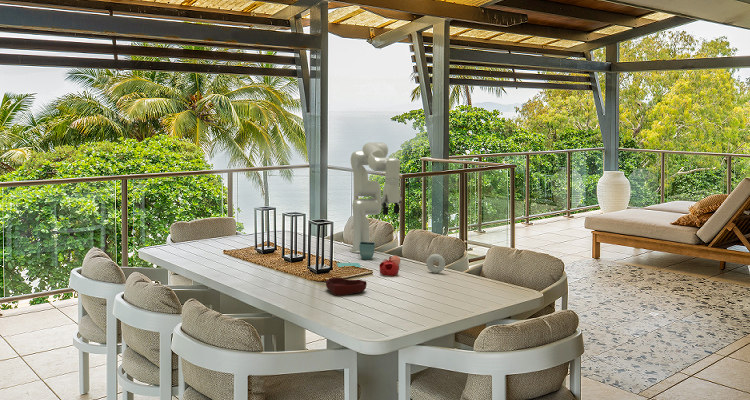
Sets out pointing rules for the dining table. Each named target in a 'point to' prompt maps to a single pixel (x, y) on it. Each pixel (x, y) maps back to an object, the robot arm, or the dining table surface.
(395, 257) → the ball
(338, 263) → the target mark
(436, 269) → the donut
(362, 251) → the flower pot
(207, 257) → the dining table surface
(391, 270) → the pomegranate
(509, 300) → the dining table surface
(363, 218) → the robot arm
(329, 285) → the dark red shallow dish
